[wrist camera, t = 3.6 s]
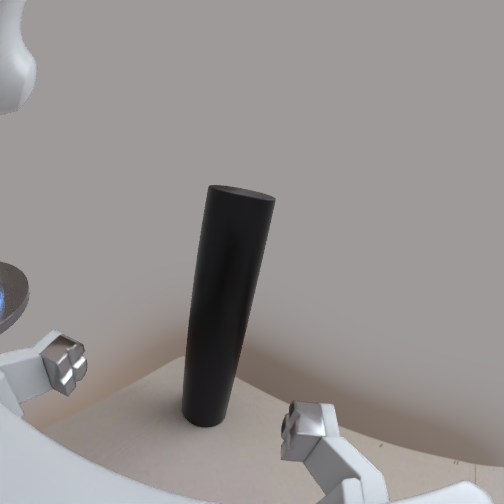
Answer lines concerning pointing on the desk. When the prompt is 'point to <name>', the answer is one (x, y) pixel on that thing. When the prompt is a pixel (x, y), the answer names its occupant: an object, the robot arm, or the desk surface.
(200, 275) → the cylinder
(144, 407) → the desk surface
